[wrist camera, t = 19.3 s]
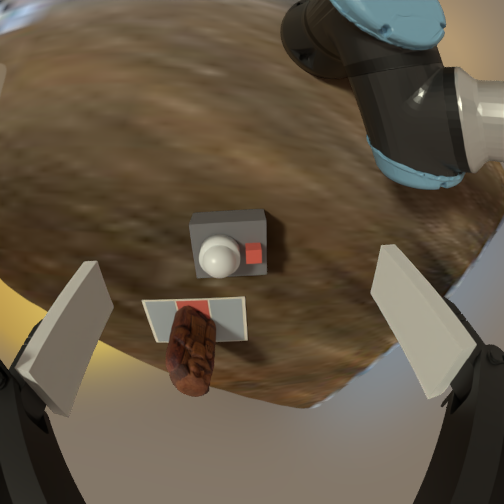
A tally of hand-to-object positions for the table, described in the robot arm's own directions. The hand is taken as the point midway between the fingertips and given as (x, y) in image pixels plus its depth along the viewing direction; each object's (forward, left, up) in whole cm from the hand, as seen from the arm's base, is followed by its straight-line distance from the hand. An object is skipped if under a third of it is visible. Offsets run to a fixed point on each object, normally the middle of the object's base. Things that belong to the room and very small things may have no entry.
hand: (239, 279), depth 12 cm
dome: (+3, +15, -29) cm, 33 cm away
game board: (+11, +35, -35) cm, 50 cm away
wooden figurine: (+11, +35, -35) cm, 50 cm away
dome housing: (+2, +15, -35) cm, 38 cm away
